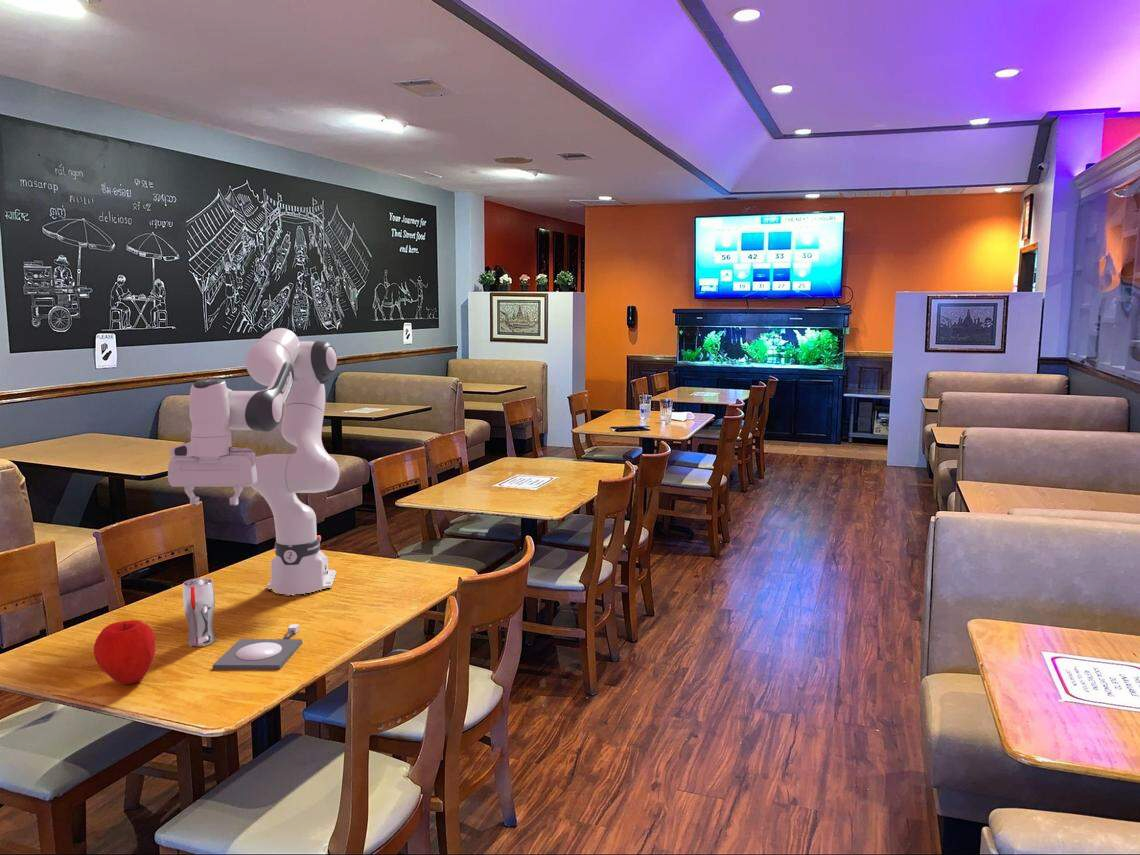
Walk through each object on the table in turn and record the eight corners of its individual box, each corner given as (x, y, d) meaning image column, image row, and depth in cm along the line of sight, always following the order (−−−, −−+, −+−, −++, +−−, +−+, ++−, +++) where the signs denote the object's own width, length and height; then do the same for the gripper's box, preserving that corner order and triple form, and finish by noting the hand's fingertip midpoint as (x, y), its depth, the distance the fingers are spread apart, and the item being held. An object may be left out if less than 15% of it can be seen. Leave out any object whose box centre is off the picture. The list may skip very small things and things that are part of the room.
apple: (83, 691, 178) (78, 630, 176) (122, 668, 190) (118, 611, 188) (134, 696, 176) (129, 634, 174) (170, 672, 188) (166, 614, 186)
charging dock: (253, 630, 212) (253, 624, 212) (313, 630, 212) (313, 624, 211) (212, 669, 189) (212, 662, 189) (279, 669, 189) (279, 662, 188)
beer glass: (183, 649, 200) (179, 587, 198) (188, 638, 207) (184, 579, 205) (215, 646, 202) (211, 585, 200) (219, 635, 209) (215, 576, 207)
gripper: (260, 445, 205) (262, 502, 206) (175, 445, 205) (179, 502, 206) (250, 449, 198) (252, 507, 200) (163, 449, 199) (166, 507, 200)
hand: (214, 504), depth 203 cm, fingers open, 8 cm apart
